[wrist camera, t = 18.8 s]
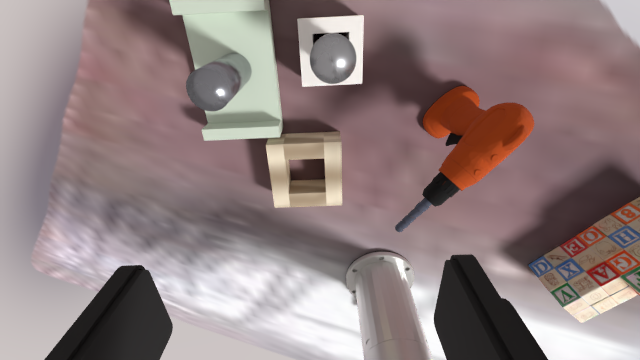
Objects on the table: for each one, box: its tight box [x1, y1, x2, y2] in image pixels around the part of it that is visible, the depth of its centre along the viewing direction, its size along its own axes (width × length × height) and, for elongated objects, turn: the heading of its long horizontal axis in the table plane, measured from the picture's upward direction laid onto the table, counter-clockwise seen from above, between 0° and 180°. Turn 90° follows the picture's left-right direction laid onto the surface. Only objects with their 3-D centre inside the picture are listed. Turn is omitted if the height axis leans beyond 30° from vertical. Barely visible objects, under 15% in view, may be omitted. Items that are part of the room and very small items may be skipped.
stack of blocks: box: [528, 197, 640, 323], centre depth 47 cm, size 21×6×12 cm, turn 139°
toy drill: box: [395, 86, 534, 232], centre depth 37 cm, size 5×19×15 cm, turn 139°
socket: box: [266, 131, 342, 208], centre depth 44 cm, size 10×10×4 cm
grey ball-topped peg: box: [310, 33, 357, 84], centre depth 33 cm, size 4×4×10 cm
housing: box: [297, 15, 364, 87], centre depth 36 cm, size 7×7×5 cm
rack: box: [169, 0, 283, 141], centre depth 37 cm, size 16×10×4 cm, turn 3°
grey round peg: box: [186, 53, 252, 111], centre depth 33 cm, size 4×4×11 cm
